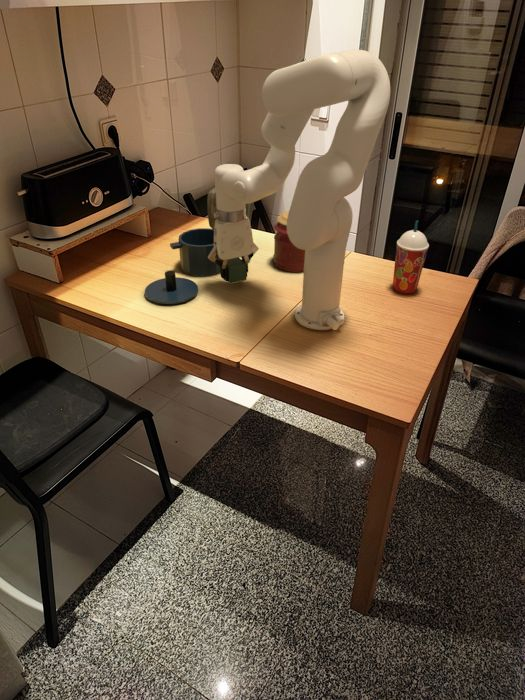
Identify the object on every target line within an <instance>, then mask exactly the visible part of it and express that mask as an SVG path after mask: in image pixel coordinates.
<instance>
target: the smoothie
mask: <svg viewBox="0 0 525 700" xmlns="http://www.w3.org/2000/svg"><path fill="white" fill-rule="evenodd" d="M418 225H419V220H416V221H415V222H414V228H413V229H411V230H407V231H405V232H404V233H403V234H402V235H400V238H399V239H397V241H396V248H395V259H394V268H393V278H392V285H393V288H394V290H395V291H397V292H399V293H401V294H411V293H414V292H415V291H416V289H417V288H418V286H419V282H420V279H421V276H422V272H423V268H424V264H425V260H426V257H427V254H428V250H429V247H430V244H429V242H428V239H427V237H426V235H425V234H424V233H423V232H421V231H420V230H418Z"/></svg>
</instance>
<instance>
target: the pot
mask: <svg viewBox="0 0 525 700" xmlns="http://www.w3.org/2000/svg"><path fill="white" fill-rule="evenodd" d="M169 247H170V248H171V250H178V252H179V262H180V268H181V271H182V272H183V273H184V274H185V275H186V274H187V275H189V276H192V277H199V278H200V277H201V278H205V277H212V276H217V275H218V274H221V271H220V266H219V265H217V264H216V263H214V262H212V261H211V260H209V259H208V255H209V254H210V252H211V251H212V249H213V247H214V229H212V228H208V227H207V228H206V227H205V228H203V227H201V228H193V229H189V230H186V231H184V232H182V233H180V234H179V235H178V241H176V242H170V243H169ZM215 258H217V259H219V256H218V255H217V254H216V256H215Z"/></svg>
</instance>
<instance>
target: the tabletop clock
mask: <svg viewBox="0 0 525 700" xmlns="http://www.w3.org/2000/svg"><path fill="white" fill-rule="evenodd" d="M226 164H234V162H233V161H228V162H226ZM206 198H207V199H206V201H207V203H206V204H207V205H206V206H207V221H208V225H209V227H210V229H214V227H215V220H217V218H213V217H212V213H215V212H216V209H217V204H216V190H215V186H214V187H212V188H211V189H210V190H209V191H208V193H207V197H206ZM245 207H246V217H248V218H249V220H250V221H251V214H252V213H251V212H252V203H250V204H245Z"/></svg>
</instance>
